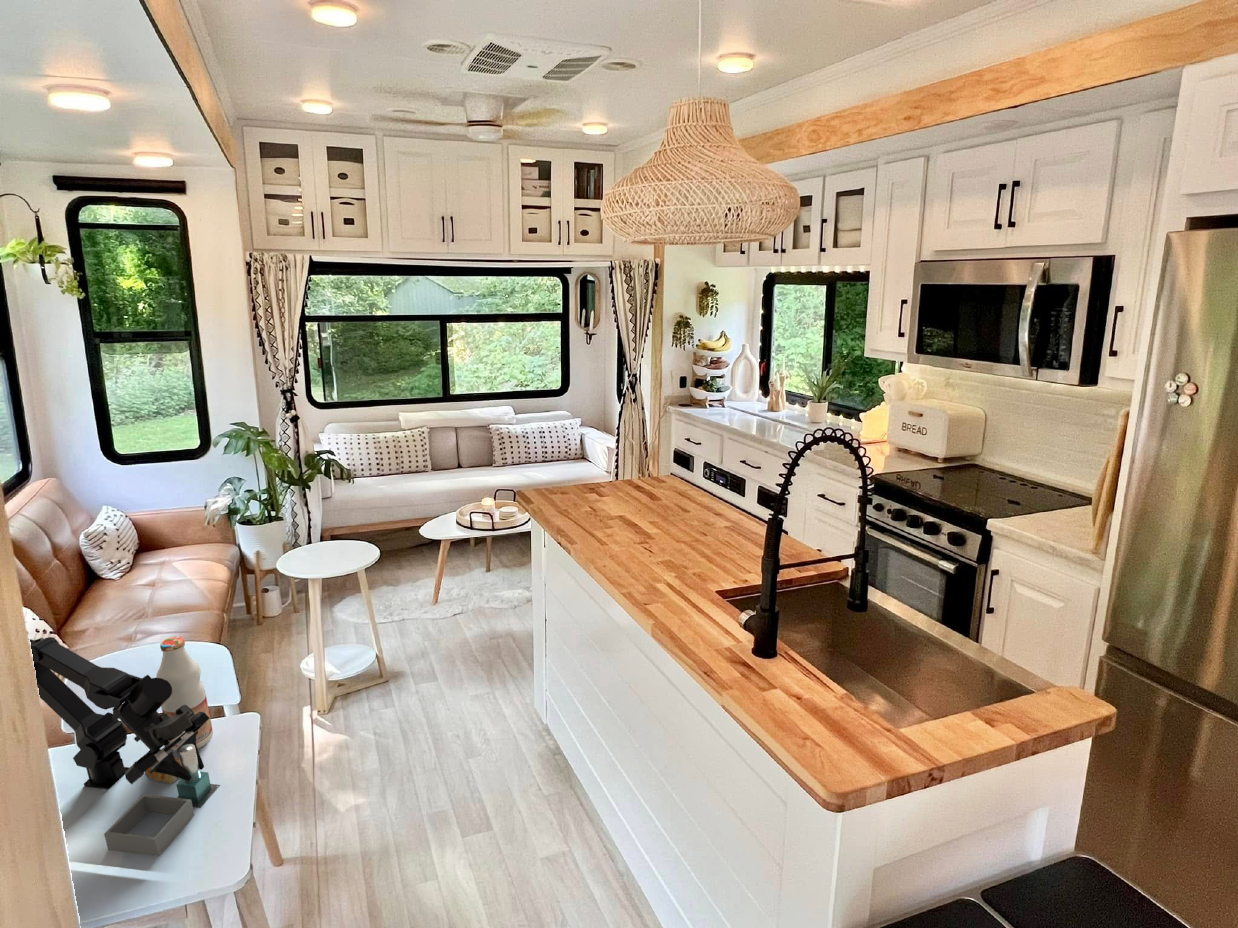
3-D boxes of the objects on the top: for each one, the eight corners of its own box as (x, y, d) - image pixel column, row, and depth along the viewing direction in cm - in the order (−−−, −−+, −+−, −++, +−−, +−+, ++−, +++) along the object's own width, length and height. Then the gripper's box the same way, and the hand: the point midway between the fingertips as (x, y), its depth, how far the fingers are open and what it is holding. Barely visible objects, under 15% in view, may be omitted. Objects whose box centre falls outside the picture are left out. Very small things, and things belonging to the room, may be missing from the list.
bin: (109, 853, 155) (104, 833, 153) (147, 812, 165) (143, 794, 163) (159, 859, 153) (154, 839, 152) (195, 818, 164) (191, 799, 162)
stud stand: (171, 808, 166) (167, 793, 165) (192, 785, 173) (189, 770, 172) (201, 811, 166) (198, 796, 164) (221, 788, 172) (218, 773, 171)
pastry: (138, 781, 174) (135, 767, 173) (161, 762, 181) (158, 748, 179) (173, 788, 172) (170, 774, 171) (195, 768, 179) (193, 754, 177)
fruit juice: (161, 753, 183) (138, 651, 174) (186, 728, 192) (166, 629, 183) (198, 756, 182) (178, 653, 173) (221, 731, 191) (203, 632, 182)
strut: (179, 800, 167) (170, 754, 163) (192, 785, 171) (183, 741, 168) (198, 802, 167) (189, 756, 163) (211, 788, 171) (202, 743, 167)
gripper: (125, 731, 154) (180, 787, 155) (196, 679, 171) (245, 729, 172) (101, 756, 159) (155, 810, 159) (172, 703, 176) (221, 752, 177)
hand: (196, 773), depth 167 cm, fingers closed on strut, 3 cm apart
